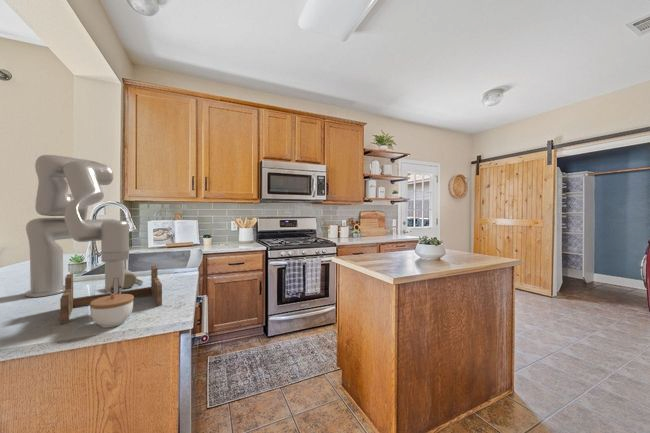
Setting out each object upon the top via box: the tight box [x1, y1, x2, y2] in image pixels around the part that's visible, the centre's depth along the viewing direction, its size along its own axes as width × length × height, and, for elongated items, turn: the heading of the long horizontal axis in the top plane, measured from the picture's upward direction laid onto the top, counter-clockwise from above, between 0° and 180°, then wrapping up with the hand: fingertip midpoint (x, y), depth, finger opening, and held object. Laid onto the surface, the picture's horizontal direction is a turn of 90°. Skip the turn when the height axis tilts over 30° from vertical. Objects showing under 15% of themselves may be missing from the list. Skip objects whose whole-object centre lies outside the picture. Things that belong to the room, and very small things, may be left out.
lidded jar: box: [89, 294, 135, 328], centre depth 83 cm, size 11×11×9 cm
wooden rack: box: [59, 265, 163, 325], centre depth 97 cm, size 18×27×12 cm, turn 130°
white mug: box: [123, 268, 144, 289], centre depth 121 cm, size 11×8×8 cm
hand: (115, 308), depth 92 cm, fingers closed
